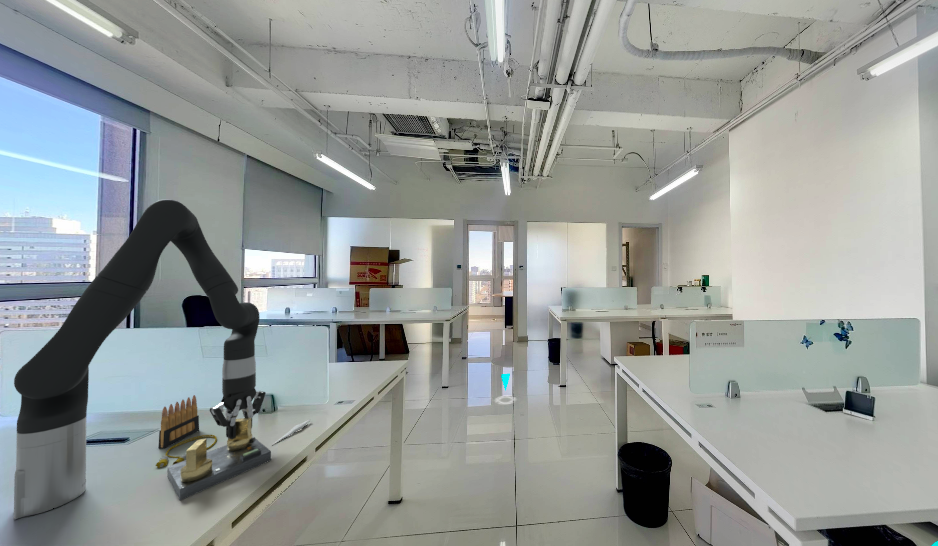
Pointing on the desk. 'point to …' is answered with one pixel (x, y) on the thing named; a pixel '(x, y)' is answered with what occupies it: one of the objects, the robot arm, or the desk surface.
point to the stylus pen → (294, 430)
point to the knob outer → (241, 435)
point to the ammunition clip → (178, 422)
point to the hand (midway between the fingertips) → (239, 434)
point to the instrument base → (219, 468)
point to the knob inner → (196, 462)
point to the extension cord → (164, 459)
